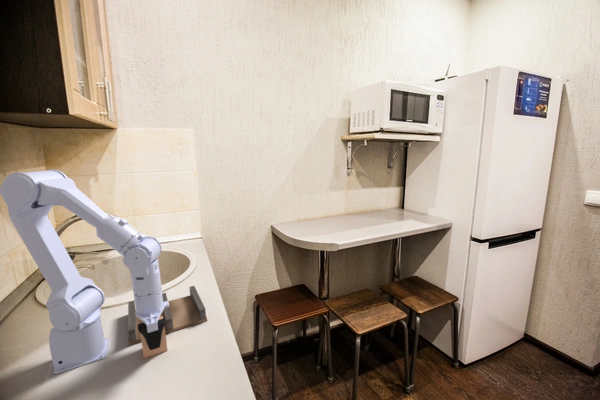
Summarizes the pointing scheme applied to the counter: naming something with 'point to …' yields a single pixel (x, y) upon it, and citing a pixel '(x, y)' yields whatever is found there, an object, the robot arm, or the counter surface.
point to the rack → (171, 315)
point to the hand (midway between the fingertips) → (154, 342)
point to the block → (162, 348)
